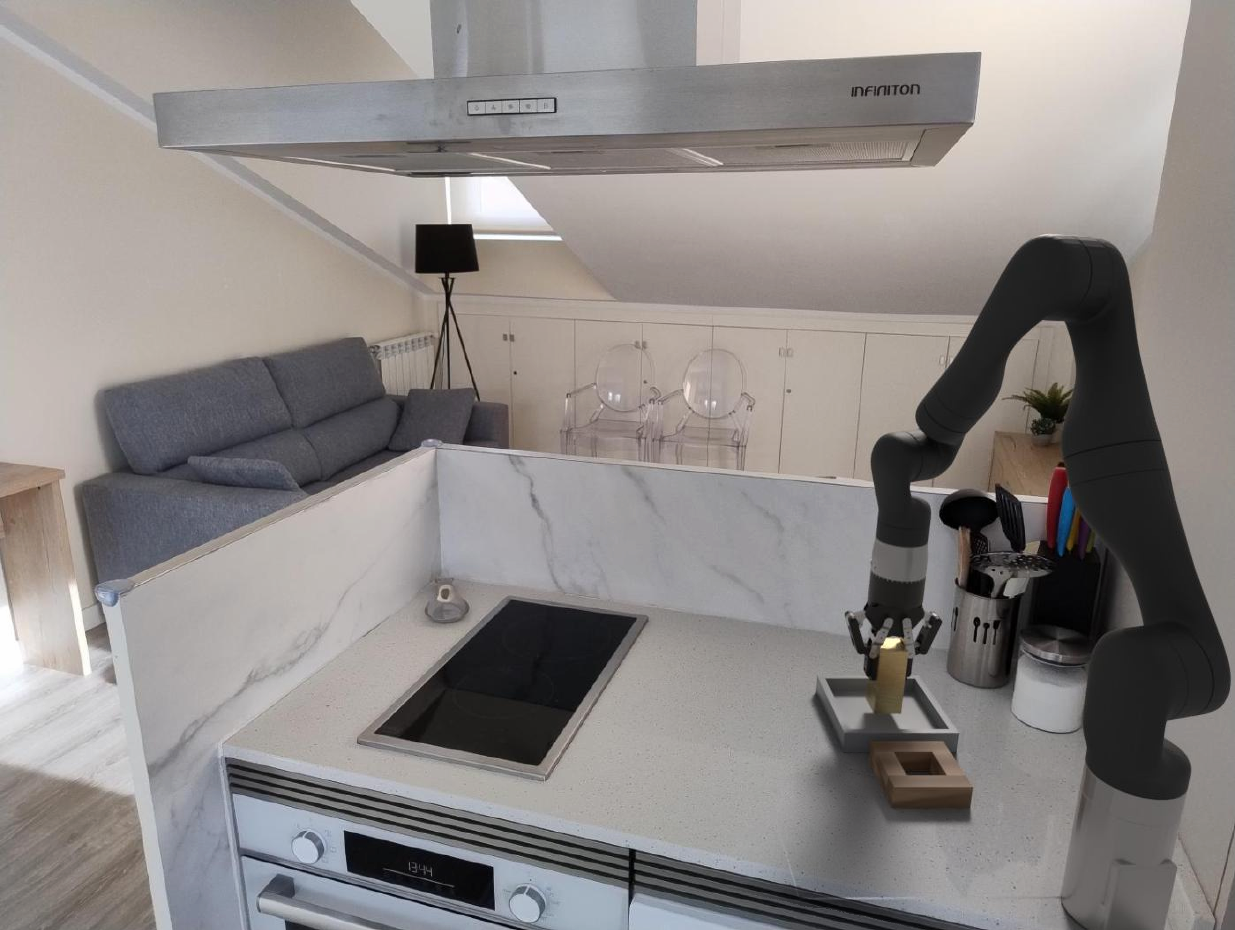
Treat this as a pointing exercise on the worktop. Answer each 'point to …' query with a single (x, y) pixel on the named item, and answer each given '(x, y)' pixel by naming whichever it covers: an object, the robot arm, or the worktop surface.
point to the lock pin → (888, 679)
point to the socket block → (919, 790)
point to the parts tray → (861, 725)
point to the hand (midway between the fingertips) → (886, 677)
